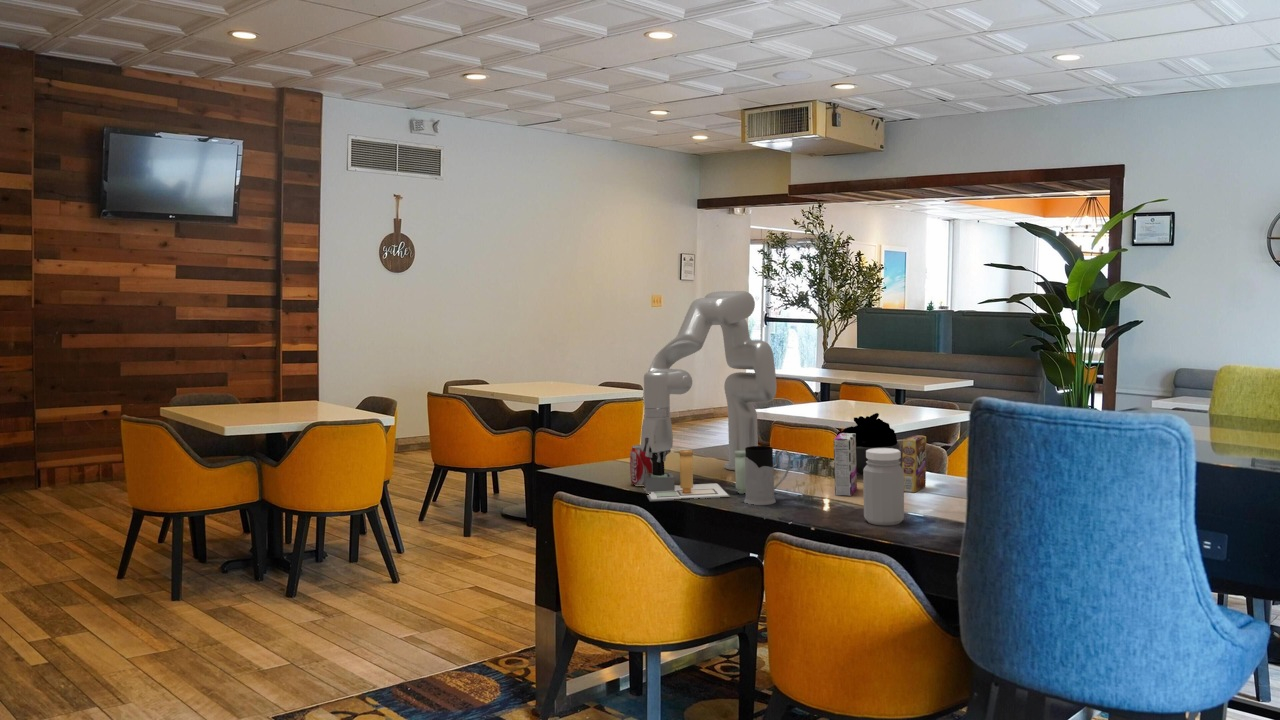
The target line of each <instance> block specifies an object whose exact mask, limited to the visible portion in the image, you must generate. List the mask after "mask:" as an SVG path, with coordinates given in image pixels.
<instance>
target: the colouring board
mask: <svg viewBox="0 0 1280 720" xmlns="http://www.w3.org/2000/svg"><path fill="white" fill-rule="evenodd" d="M674 487H675V491H658V492H651V494H649V493H648V494H649V495H646V497H647V499H648V501H649V502H667V501H670V502H671V501H675V500H674V499H681V498H694V499H693V500H708V499H707V498H711V499H721V498H720V497H730V498H731V495H730V494H729V493H728V492H727V491H726V490H725V489H723V487H722V486H721V485H720V484H718V483H714V482H713V483H699V484H697V483H696V484H694V483H693V488H691V493H683V488H680V484H679V485H678V484H674ZM646 491H647V490H646ZM698 498H700V499H698ZM705 498H706V499H705Z"/></svg>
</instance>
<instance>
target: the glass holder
mask: <svg viewBox="0 0 1280 720" xmlns="http://www.w3.org/2000/svg"><path fill="white" fill-rule="evenodd" d="M773 451H774V450H773V447H772V446H766V445H758V446H751V447H746V448H745V455H746V458H745V488H746V493H745V496H744V497H745V498H744V500H743V502H744V504H746V503H748V504H747V505H751V504H754V505H753V506H766V505H767V506H768V505H773V504H775V503H776V502H777V501H776V498H775V490H776V489H777V488H778V486H779V485H781V484H782V482H783V481H784V480H785V479H786V477H787V475H788V473H789V471H790V468H791V454H790V452H789V451H787V450H784V449H782V450H779V451H778V452H777V453H776V456H775V462H773V461H774V457H773V456H774V455H773V454H774V453H773ZM783 452H786V454H787V456H788V464H787V469H786V471H785V473H784V475H783V476H782V478H781V479H780V480H779V481H778V482H777V483H776V484H775V481H774V480H775V478H774V477H775V476H774V475H775V471H774V468H775V467H777V466H778V462H779V456H780V454H782V453H783ZM774 463H775V464H774Z"/></svg>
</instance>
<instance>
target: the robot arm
mask: <svg viewBox="0 0 1280 720" xmlns="http://www.w3.org/2000/svg"><path fill="white" fill-rule="evenodd" d="M755 305H756V303H755V299H754V297H753V295H752V294H751V293H750V292H748V291H746V290H745V291H744V290H739V291H737V290H736V291H735V290H733V291H732V290H731V291H728V290H727V291H726V290H724V291H721V290H720V291H712V292H709V293H707V294H706V295H705V296H704V297H700V298H696V299H695V300H693V301H692V302H691V303H690V306H689V308H688V309H687V312H686V314H685V316H684V319H683V321H682V323H681V326H680V328H679V329H678V330H679V331H678V333H677V335H676V337H674V338H673V339H672V340H671V341H669V342H668V343H666V344H665V346H664V347H663V348H662V349H661V350H659V351H658V352H657V353H656V354H655V356H654V357H653V359H652V362H651V364H650V367H649V368H648V371H646V373H644V376H643V401H644V404H643V407H644V409H643V410H644V413H643V414H644V418H643V420H642V424H641V425H642V426H641V433H640V434H641V435H640V437H641V438H640V445H641V450H642V451H643V452H646V453H645V456H646V457H649V458H650V459H651V462H652V466H653V475H658V476H662V475H664V473H665V462H666V458H667V455H669V454H670V453H671V450H672V448H673V445H674V442H673V441H674V440H673V426H672V419H671V410H670V408H671V407H670V405H671V403H670V400H671V399H670V395H684V394H686V393H687V392H689V391H690V390H691V388H692V387H693V378H692V376H691V375H692V374H690V372H688V371H686V370H683V369H677V368H675V369H674V368H671V367H672V366H673V365H674V364H675V363H676V362H678V361H680V360H681V359H683V358H686V357H688V356H691V355H693V354H695V353H697V352H700V350H701V349H703V346H704V344H705V341H706V339H707V336H708V334H709V332H710V329H711V327H712V326H719V327H720V328H721V333H722V337H723V339H722V340H723V347H724V355H725V362H726V364H727V366H728V367H729V368H731V369H733V370H734V369H736V370H750V371H752V370H753V372H741V371H740V372H739V371H738V372H733V373H731V374H729V375H728V376H727V377H726V378H725V381H724V386H723V387H724V388H723V389H724V395H725V398H726V404H727V420H728V421H727V422H728V423H727V424H728V425H727V427H728V428H727V429H728V431H727V432H728V462H726V463H725V464H723V465H724V469H726V470H730V471H735V451H737V450H745V448H746V447H751V446H759V444H758V443H759V441H758V438H759V437H758V435H759V434H758V413H757V410H756V408H755V406H754V404H753V403H764V404H765V403H770V402H772V401H773V400H774V399H775V397H776V395H777V387H778V386H777V385H778V384H777V377H776V376H777V375H776V365H775V357H774V352H773V351H774V350H773V349H772V347H771V345H770V344H769V343H768V342H766V341H764V340H759V339H758V340H757V339H755V340H753V339H751V336H750V330H749V325H748V322H747V319H748V318H749V317H750V316H751V315H752V314H753V312H754V311H755Z"/></svg>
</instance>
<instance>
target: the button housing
mask: <svg viewBox="0 0 1280 720" xmlns="http://www.w3.org/2000/svg"><path fill="white" fill-rule="evenodd" d="M651 474H653V473H646V474H644V487H645V489H646V490H647V492H658V491H675V487H674V485H675V476H674V475H673V474H672V472H664V474H667V477H652V478H651Z"/></svg>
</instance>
